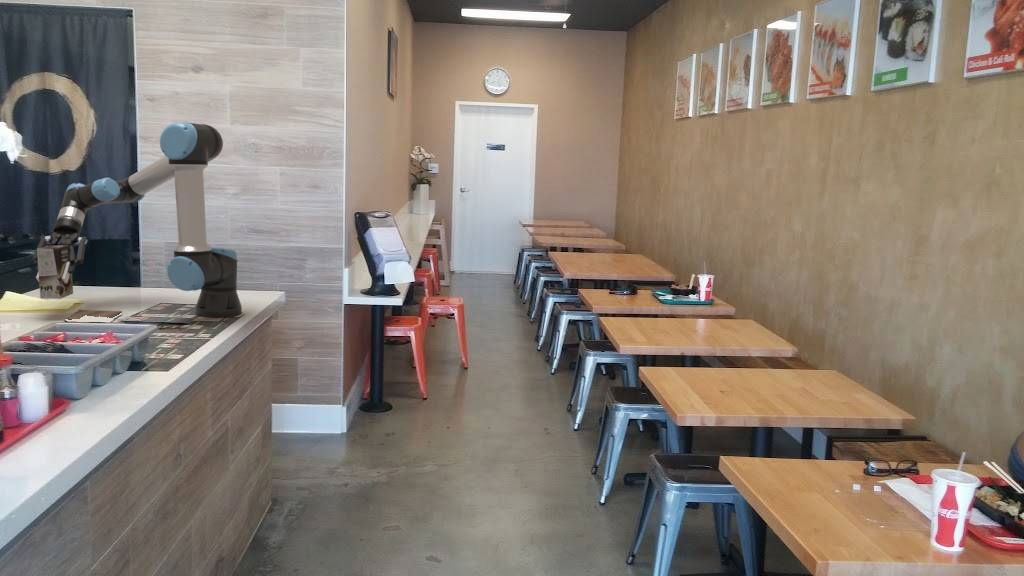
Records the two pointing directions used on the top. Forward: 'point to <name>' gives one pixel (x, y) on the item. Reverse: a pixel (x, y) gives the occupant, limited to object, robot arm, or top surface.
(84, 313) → the walnut board
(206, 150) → the robot arm
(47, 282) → the coffee box
